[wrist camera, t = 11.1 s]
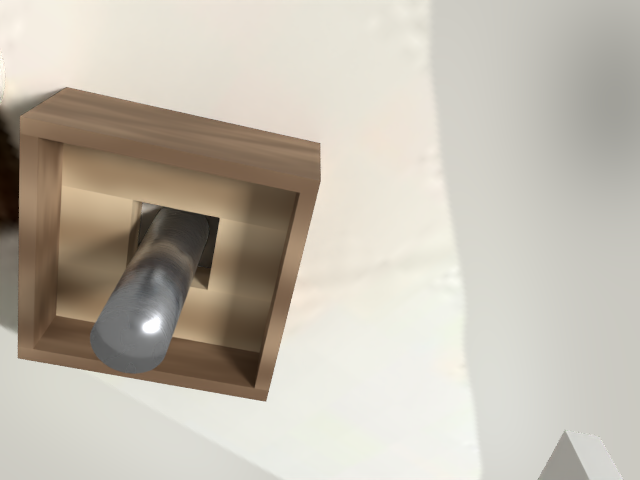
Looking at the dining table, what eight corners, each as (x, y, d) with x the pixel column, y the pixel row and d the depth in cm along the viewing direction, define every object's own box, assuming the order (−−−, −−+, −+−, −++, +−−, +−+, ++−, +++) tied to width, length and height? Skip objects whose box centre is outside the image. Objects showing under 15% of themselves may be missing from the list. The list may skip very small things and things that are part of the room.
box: (66, 87, 40) (20, 116, 34) (320, 143, 42) (320, 181, 35) (57, 301, 47) (17, 358, 41) (272, 341, 49) (266, 401, 43)
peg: (157, 197, 43) (92, 304, 31) (213, 208, 44) (171, 319, 31) (151, 246, 45) (87, 366, 33) (205, 256, 46) (162, 379, 33)
